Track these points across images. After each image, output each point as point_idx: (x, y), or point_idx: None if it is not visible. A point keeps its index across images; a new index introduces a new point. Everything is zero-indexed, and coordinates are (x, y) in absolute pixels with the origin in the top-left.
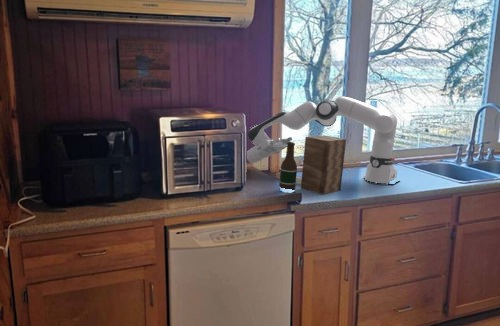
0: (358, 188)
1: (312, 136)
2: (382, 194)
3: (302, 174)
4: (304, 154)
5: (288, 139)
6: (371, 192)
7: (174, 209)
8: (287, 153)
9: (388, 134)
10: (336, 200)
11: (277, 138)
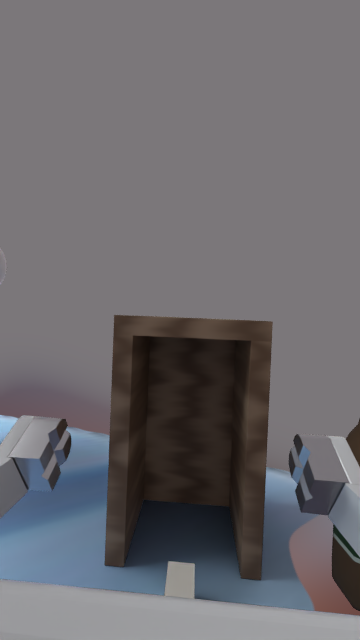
0: (66, 472)
1: (216, 319)
2: (95, 437)
3: (263, 507)
4: (267, 407)
5: (45, 466)
6: (93, 449)
7: None
8: None
9: None
10: None
11: (350, 450)
